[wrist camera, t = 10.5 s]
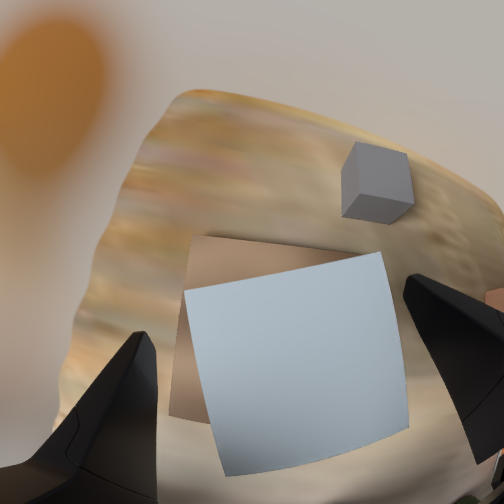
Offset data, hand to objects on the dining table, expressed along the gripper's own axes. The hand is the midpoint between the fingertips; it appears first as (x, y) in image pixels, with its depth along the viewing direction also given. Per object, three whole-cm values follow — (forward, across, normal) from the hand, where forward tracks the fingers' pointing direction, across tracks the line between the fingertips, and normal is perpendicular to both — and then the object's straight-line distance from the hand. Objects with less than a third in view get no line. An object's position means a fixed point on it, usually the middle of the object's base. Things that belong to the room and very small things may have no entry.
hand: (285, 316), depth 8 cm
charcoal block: (+12, -9, +2) cm, 15 cm away
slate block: (+5, 0, +7) cm, 8 cm away
